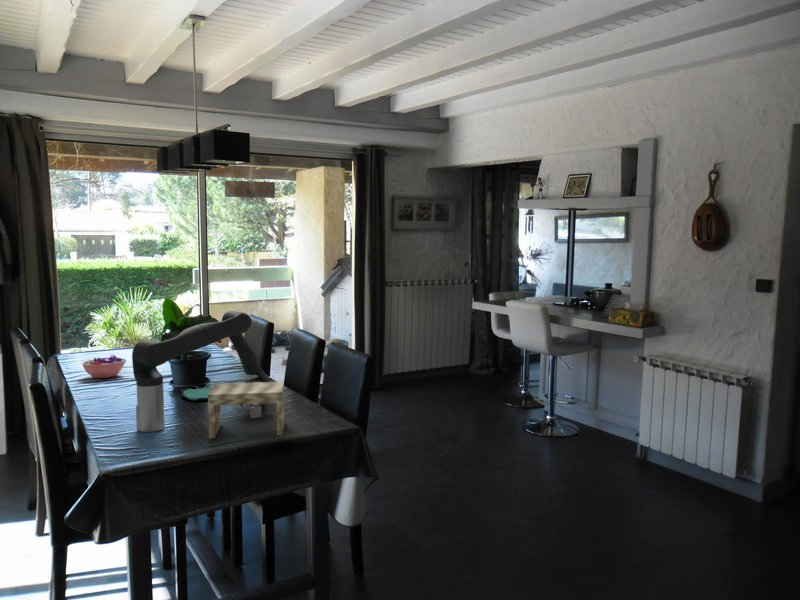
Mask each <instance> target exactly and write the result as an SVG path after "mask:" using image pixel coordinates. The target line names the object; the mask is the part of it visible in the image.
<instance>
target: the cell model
mask: <svg viewBox="0 0 800 600" xmlns="http://www.w3.org/2000/svg"><path fill="white" fill-rule="evenodd" d="M93 358H94V359H90V360H86V361H84V362H82V363H81V364H82V367H83V368H84V371H85V372H86V373H87V375H88V376H89V375H90V376H91V377H93V378H94V379H107V378H112V377H115V376H117V375H119V374H120V372H121V371H122V370H123V368H124V365H125V364H126V362H127V360H126V359H125V358H120V357H117V356H116V355H115V354H110V357H103V358H101V357H93Z"/></svg>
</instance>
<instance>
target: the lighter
mask: <svg viewBox="0 0 800 600" xmlns="http://www.w3.org/2000/svg"><path fill="white" fill-rule="evenodd" d="M251 405H252V406H251ZM244 406H245V408H246V409H247V410H249V414H250V416H249V417H250V418H251V419H255V418H261V417H262V405H261V406H259V404H244Z"/></svg>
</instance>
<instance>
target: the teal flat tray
mask: <svg viewBox="0 0 800 600" xmlns="http://www.w3.org/2000/svg"><path fill="white" fill-rule="evenodd" d="M206 384H207V385H206V386H204V387H203V388H201V387H196V389H192V388H186V389H180V392H182V393H181V395H182V397H183V398H185V399H189V401H197V400H201V401H202V400H204V401H205V400H208V394H209V392H210V390H211V389H212V387H213V385H212V386H211V384H209V383H206Z"/></svg>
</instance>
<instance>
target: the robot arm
mask: <svg viewBox="0 0 800 600" xmlns="http://www.w3.org/2000/svg"><path fill="white" fill-rule="evenodd" d="M251 326H252V318H251V316H250V315H249V314H248V313H246V312H243V311H237V310H236V311H235V310H228V311H226V312H225V313H224V314H223V315H222V318H221V321H213V322H205V323H200V324H196V325H194V326H190V327H187V328H185V329H183V330H182V331H181V332H179V334H177V336H175V337H173V338H169V339H166V340H162V341H151V340H140V341H138V342H137V343H136V344H135V345H134V346H133V349H132V353H131V356H132V357H131V361H132V370H133V371H132V372H133V377H134V379H135V383H136V404H137V405H136V406H135V419H136V432H143V433H153V432H158V431H162V430H164V429H165V426H166V424H165V400H164V399H165V398H164V378H163V377H164V376H163V375H162V374H161V373H160V372H159V370H158V368H157V367H158V366H162V365H164V364H166V363H167V362H169V361H171V360H173V359H175V358H177V357H180V356H182V355H183V356H184V355H186V354H189V353H191V352H193V351H198V350H200V349H203V348H205V347H207V346H210V345H212V344H214V343H217V342H220V341H222V340H224V339H227V338H228V339H229V340H230V342H231V344H232V345H233V347H234V349H235V351H236V353H237V355H238V358H239V360H240V363H241V366H242V369H243V371H244V373H245V375H249V377H247V378H246V379H245V382H244V383H255V382H271V381H270V379H269V377H268V375H267V374H266V373H265V371H264V370H263V369H262V367H261V364H260V363H259V362H260V361H259V360H258V357H257V355H256V351H254V349H253V348H252V347H251V345H250V344H249V342H248V341H247V340H246V338H245V337H244V336H243V334H245V333H247V332H248V331H249V329H250V328H251ZM250 375H251V376H250ZM262 405H263V404H259V406H261V407H262ZM243 406H244V404H241V405H240V407H243Z"/></svg>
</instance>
